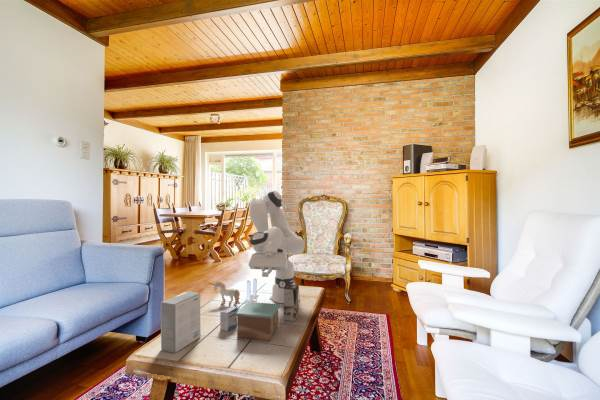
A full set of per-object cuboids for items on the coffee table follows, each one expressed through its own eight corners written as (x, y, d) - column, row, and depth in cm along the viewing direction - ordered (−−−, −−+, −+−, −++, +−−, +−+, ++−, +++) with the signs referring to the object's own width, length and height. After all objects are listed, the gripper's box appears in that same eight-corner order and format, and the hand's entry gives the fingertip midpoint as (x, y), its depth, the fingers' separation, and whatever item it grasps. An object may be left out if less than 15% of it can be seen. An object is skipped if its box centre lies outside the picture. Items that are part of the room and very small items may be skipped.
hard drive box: (187, 334, 133) (188, 290, 133) (201, 337, 130) (201, 292, 130) (159, 350, 119) (160, 301, 119) (174, 354, 116) (175, 303, 116)
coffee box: (295, 321, 148) (295, 289, 148) (283, 320, 150) (283, 288, 150) (299, 314, 157) (299, 284, 157) (287, 313, 159) (287, 284, 159)
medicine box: (227, 331, 136) (227, 313, 136) (219, 329, 138) (220, 311, 138) (237, 324, 144) (237, 307, 144) (229, 323, 145) (229, 306, 145)
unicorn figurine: (212, 301, 176) (212, 279, 176) (243, 303, 174) (243, 281, 174) (207, 305, 169) (207, 282, 169) (239, 307, 167) (239, 284, 167)
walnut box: (248, 325, 143) (248, 305, 143) (278, 328, 140) (278, 307, 140) (237, 338, 129) (237, 316, 129) (269, 341, 127) (269, 319, 127)
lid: (248, 304, 144) (248, 301, 144) (280, 306, 141) (280, 304, 141) (235, 316, 129) (235, 313, 129) (271, 319, 126) (271, 316, 126)
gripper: (250, 249, 155) (243, 271, 146) (288, 250, 151) (283, 273, 141) (254, 256, 160) (247, 278, 150) (290, 257, 155) (285, 280, 146)
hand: (264, 276), depth 146 cm, fingers closed
